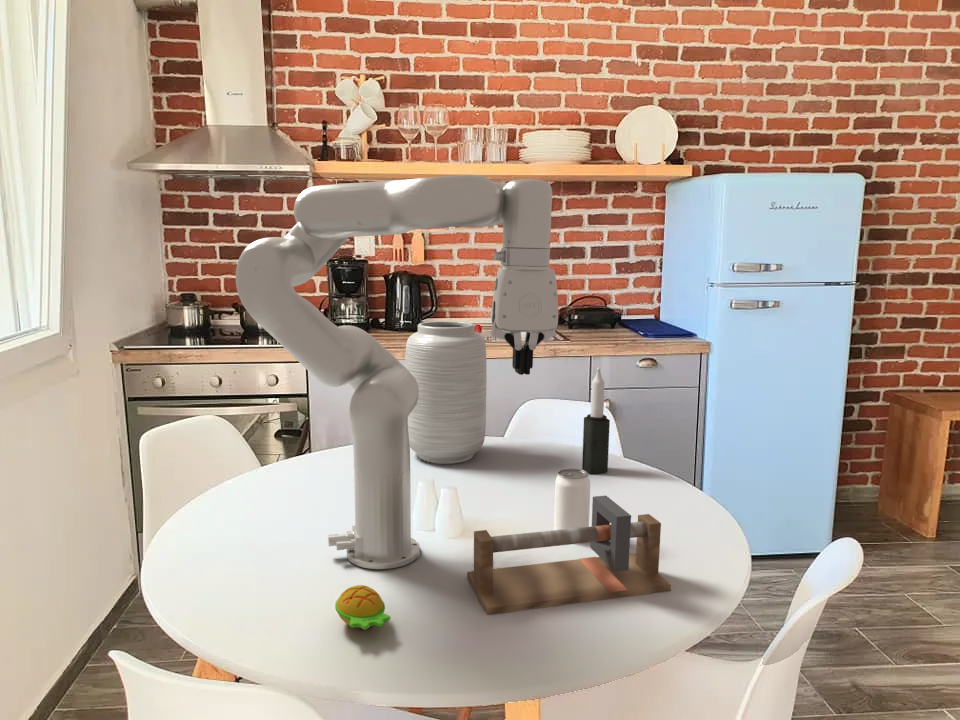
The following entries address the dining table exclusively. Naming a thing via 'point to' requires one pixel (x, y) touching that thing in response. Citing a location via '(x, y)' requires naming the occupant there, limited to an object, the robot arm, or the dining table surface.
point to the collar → (612, 533)
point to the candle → (596, 432)
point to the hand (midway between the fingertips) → (522, 372)
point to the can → (571, 499)
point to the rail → (564, 569)
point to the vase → (447, 391)
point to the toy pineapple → (361, 607)
